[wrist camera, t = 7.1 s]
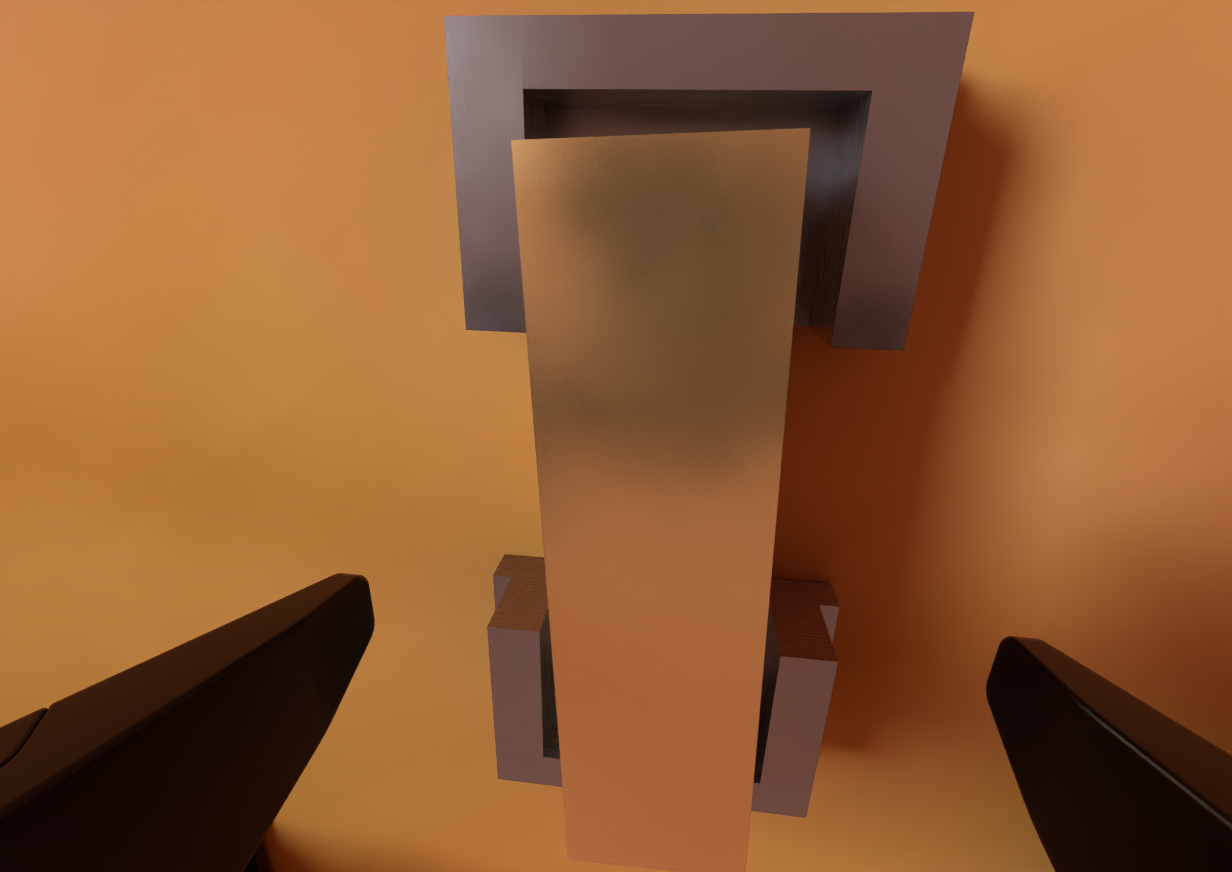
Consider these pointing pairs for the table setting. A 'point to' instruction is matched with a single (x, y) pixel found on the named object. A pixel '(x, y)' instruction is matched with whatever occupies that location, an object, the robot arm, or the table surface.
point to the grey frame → (827, 272)
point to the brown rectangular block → (659, 469)
